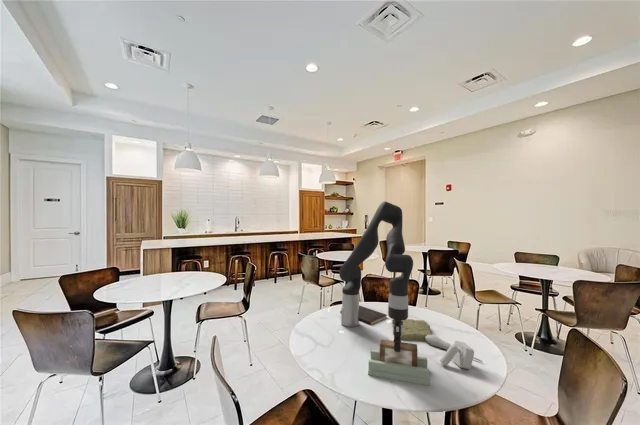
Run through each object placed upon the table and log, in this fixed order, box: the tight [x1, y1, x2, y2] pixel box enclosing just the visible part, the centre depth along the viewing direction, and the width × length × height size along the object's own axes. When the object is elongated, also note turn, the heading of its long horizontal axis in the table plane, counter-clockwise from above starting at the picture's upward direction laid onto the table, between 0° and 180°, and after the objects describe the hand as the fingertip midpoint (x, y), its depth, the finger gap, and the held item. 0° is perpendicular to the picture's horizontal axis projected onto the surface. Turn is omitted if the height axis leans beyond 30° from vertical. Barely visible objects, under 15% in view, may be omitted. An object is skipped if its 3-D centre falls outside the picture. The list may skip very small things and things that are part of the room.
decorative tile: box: [391, 318, 433, 342], centre depth 144 cm, size 19×20×4 cm
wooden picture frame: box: [379, 338, 418, 367], centre depth 108 cm, size 14×4×9 cm, turn 74°
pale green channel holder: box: [367, 349, 431, 386], centre depth 108 cm, size 22×12×4 cm, turn 73°
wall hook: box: [439, 340, 475, 370], centre depth 112 cm, size 8×10×10 cm
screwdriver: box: [425, 334, 483, 363], centre depth 123 cm, size 5×25×4 cm, turn 40°
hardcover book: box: [339, 304, 388, 326], centre depth 165 cm, size 16×23×2 cm
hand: (397, 346), depth 108 cm, fingers open, 8 cm apart
